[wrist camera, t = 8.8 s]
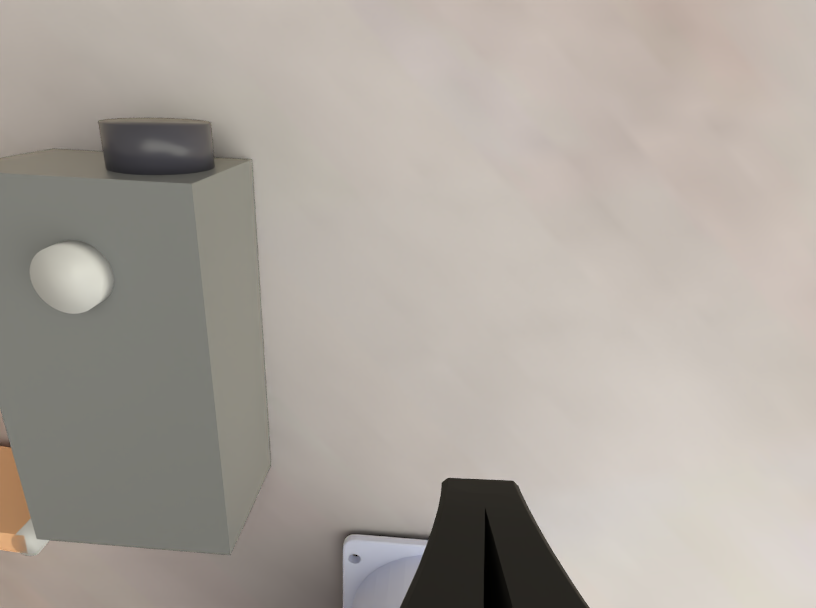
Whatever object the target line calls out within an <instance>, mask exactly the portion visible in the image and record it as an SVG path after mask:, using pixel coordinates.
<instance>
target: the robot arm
mask: <svg viewBox="0 0 816 608" xmlns="http://www.w3.org/2000/svg"><path fill="white" fill-rule="evenodd" d="M352 554H356V555H358V556H353V555H352ZM343 608H589V606H588V605H587V603H586V602H585V601H584V599H583V598H582V596H581V595H580V593H579V592H578V590H577V589H576V587H575V586H574V584H573V583H572V581H571V580H570V578H569V576H568V575H567V573H566V572H565V570H564V568H563V567H562V565H561V564H560V562H559V561H558V559H557V557H556V556H555V554H554V553H553V551H552V549H551V548H550V546H549V544H548V542H547V541H546V539H545V537H544V536H543V534H542V532H541V530H540V528H539V527H538V525H537V523H536V521H535V519H534V517H533V516H532V514H531V512H530V510H529V508H528V506H527V504H526V502H525V500H524V498H523V496H522V493H521V491H520V489H519V487H518V485H517V484H516V483H515V482H514V481H506V480H483V479H460V478H447V479H446V480H445V481H443V482H442V488H441V497H440V502H439V507H438V511H437V514H436V518H435V521H434V525H433V528H432V531H431V534H430V537H429V539H428V540H421V539H409V538H396V537H384V536H372V535H359V534H353V535H349V536H347V537H346V538H345V540H344V545H343Z"/></svg>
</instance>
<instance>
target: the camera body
mask: <svg viewBox="0 0 816 608" xmlns="http://www.w3.org/2000/svg"><path fill="white" fill-rule="evenodd" d="M98 124H99V130H100V136H101V142H102V148H103V151H86V150H68V149H49V150H43V151H37V152H31V153H25V154H20V155H14V156H8V157H2V158H0V410H1V413H2V417H3V421H4V424H5V428H6V431H7V435H8V438H9V442H10V446H11V449H12V453H13V456H14V460H15V463H16V467H17V471H18V474H19V478H20V481H21V485H22V488H23V492H24V496H25V499H26V503H27V506H28V510H29V513H30V517H31V520H32V524H33V528H34V531H35V535H36V538H37V539H40V540H52V541H64V542H77V543H89V544H101V545H113V546H125V547H137V548H149V549H161V550H173V551H185V552H197V553H209V554H222V555H231V553H232V551H233V549H234V547H235V544H236V542H237V540H238V538H239V535H240V533H241V531H242V529H243V527H244V524H245V522H246V520H247V518H248V515H249V513H250V511H251V509H252V506H253V504H254V502H255V500H256V498H257V495H258V493H259V491H260V489H261V486H262V484H263V482H264V480H265V478H266V475H267V473H268V471H269V469H270V466H271V459H270V442H269V426H268V410H267V394H266V378H265V362H264V346H263V330H262V314H261V298H260V282H259V266H258V250H257V234H256V218H255V202H254V186H253V170H252V159H234V158H215V157H214V152H213V141H212V129H211V123H210V122H207V121H201V120H192V119H175V118H117V119H105V120H100V121H98Z"/></svg>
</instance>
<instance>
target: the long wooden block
mask: <svg viewBox="0 0 816 608" xmlns="http://www.w3.org/2000/svg"><path fill="white" fill-rule="evenodd" d="M49 541H50V540H40V539H37V538H36V535H35V531H34V528H33V524H32V520H31V517H30V513H29V510H28V506H27V503H26V499H25V496H24V492H23V488H22V485H21V481H20V478H19V474H18V471H17V467H16V463H15V460H14V456H13V453H12V449H11V447H4V446H0V550H5V551H13V552H19V553H21V554H23V555H27V556H34V555H37V554H38V553H39V552H40V551H41V550H42V549H43V548H44V547H45V545H46V544H47V543H48V542H49Z"/></svg>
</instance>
